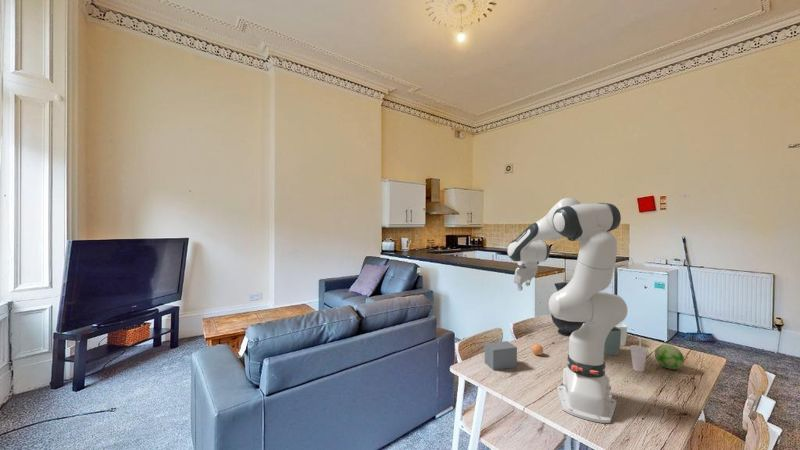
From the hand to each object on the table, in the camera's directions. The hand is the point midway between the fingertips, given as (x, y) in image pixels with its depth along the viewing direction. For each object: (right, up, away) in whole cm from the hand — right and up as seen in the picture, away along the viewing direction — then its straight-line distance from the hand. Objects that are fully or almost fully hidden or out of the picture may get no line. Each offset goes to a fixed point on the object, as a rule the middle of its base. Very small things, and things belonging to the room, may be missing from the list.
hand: (523, 287), depth 160 cm
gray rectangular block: (-18, -31, -19) cm, 41 cm away
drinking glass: (+40, -31, -5) cm, 51 cm away
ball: (+3, -28, -8) cm, 30 cm away
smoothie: (+41, -31, -23) cm, 57 cm away
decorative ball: (+56, -31, -22) cm, 68 cm away
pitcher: (+34, -31, +19) cm, 50 cm away
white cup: (+52, -31, +6) cm, 61 cm away
